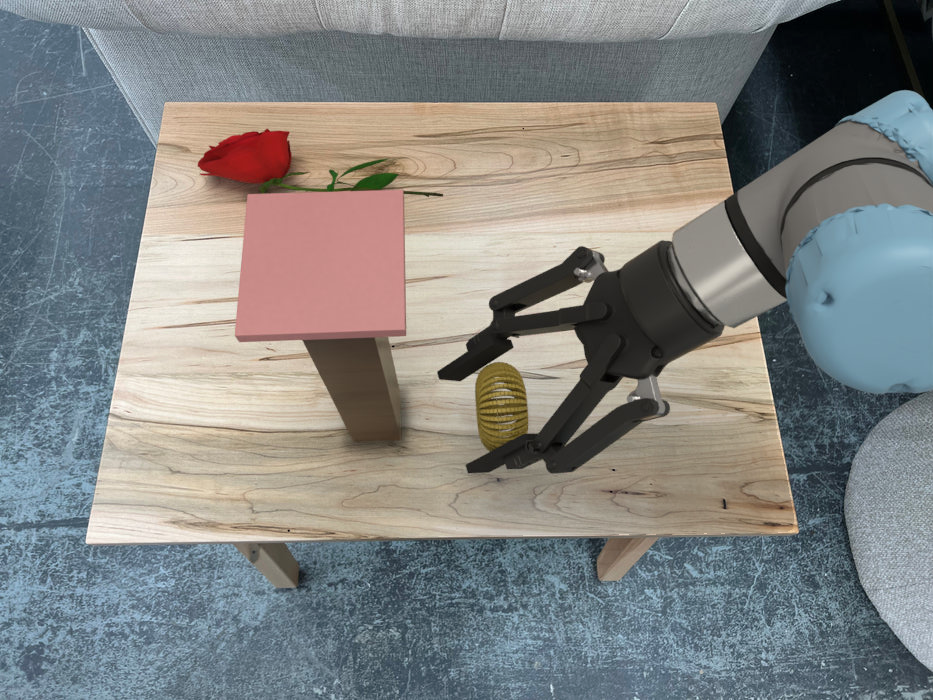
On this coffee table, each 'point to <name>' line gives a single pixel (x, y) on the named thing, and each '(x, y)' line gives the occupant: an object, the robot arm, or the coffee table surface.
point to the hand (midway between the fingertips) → (462, 421)
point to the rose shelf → (322, 266)
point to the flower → (276, 164)
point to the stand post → (361, 384)
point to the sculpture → (491, 407)
